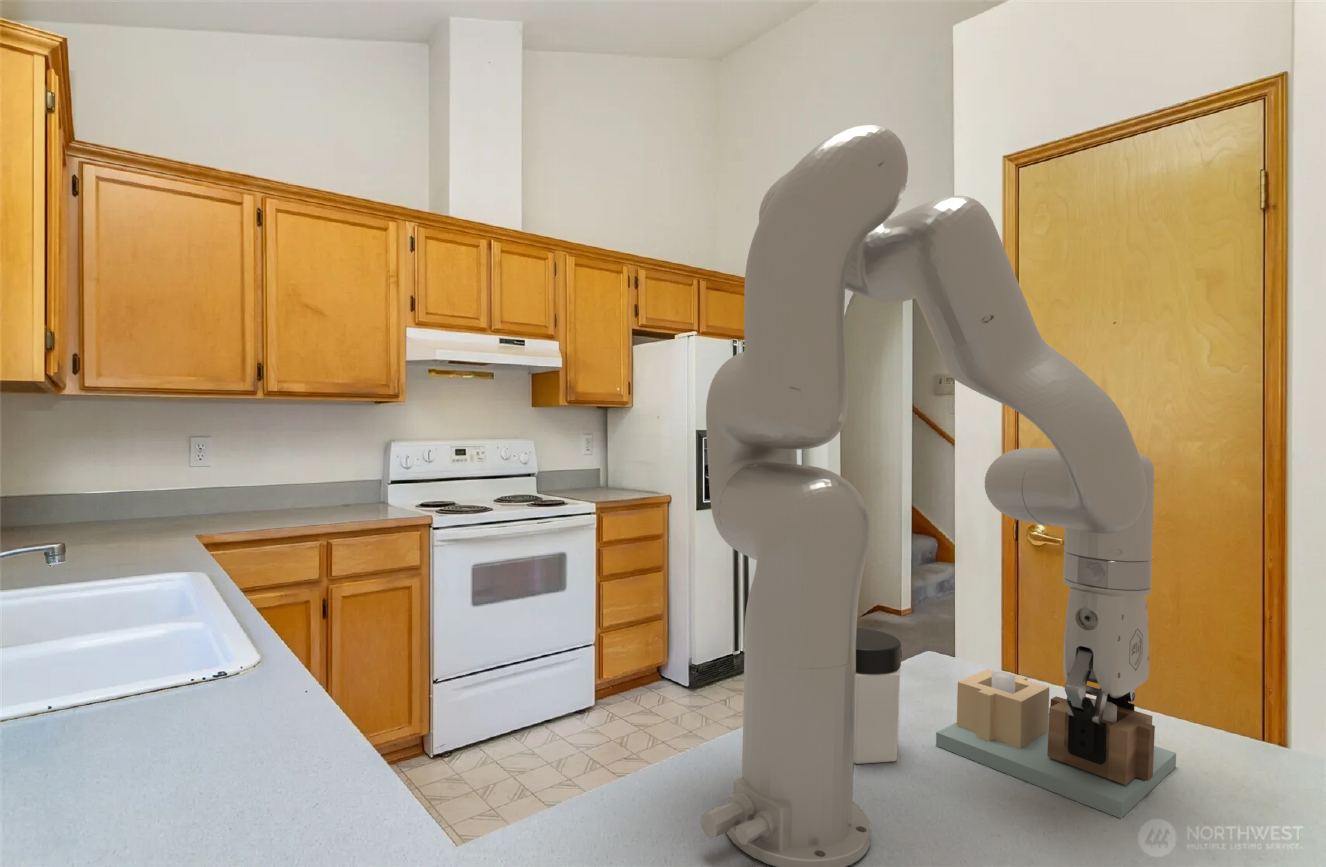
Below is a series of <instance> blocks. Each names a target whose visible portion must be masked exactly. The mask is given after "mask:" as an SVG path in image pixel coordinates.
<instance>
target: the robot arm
mask: <svg viewBox="0 0 1326 867" xmlns="http://www.w3.org/2000/svg"><path fill="white" fill-rule="evenodd" d="M908 174H909V163H908V156H907V152H906V147H905V145H904V144H903V143H902V141H901V139H900V138H899V136H898V135H897V134H896V133H895V132H893V131H892V130H891V129H889V128H887V127H884V126H882V125H878V124H877V125H876V124H863V125H862V124H861V125H854V126H852V127H848V128H845V129H844V130H840V131H839V132H836V133H835V134H833V135H831V136H830V137H828V138H827V139H825V140H823V141H822V142H821V143H819V144H818V145H816V146H815V147H814V148H813V149H811V150H810V151H809V152H808V153H806V155H805V156H803V157H802V158H801V160H800V161H799V162H798V163H797V164H796V165H795V166H793V168H792V169H790V170H789V171H788V172H786V173H785V174H783V175H782V176H781V177H780V178H778V180H776V181H775V182H774V183H773V184H772V185H771V186H770V188H769V189H768V190H767V191H766V193H765V194H764V196H763V198H762V201H761V203H760V206H759V211H758V224H757V226H756V228H755V232H754V234H753V237H752V240H751V244H750V246H749V250H748V254H747V255H748V256H747V258H746V265H745V273H744V310H743V311H744V312H743V314H744V316H743V317H744V318H743V321H744V322H743V324H744V326H743V328H744V331H743V332H744V334H743V336H744V348H743V351H742V352H739V353H737V354H735V355H733V356H732V357H730V358H729V359H728V360H726V361H725V362H724V363H723V364H722V365H721V366H720V367H719V368H718V370H717V371H716V373H715V375H714V377H713V378H712V380H711V382H710V386H709V390H708V393H707V397H706V403H705V404H706V405H705V406H706V407H705V428H706V447H707V448H706V450H707V451H706V452H707V469H708V486H709V490H708V491H709V500H710V508H711V514H712V518H713V522H714V525H715V528H716V530H717V531H718V534H719V535H720V536H721V538H722V540H723V541H724V542H725V543H726V544H727V545H729V547H730V548H732V549H733V550H735V551H737V552H738V553H740V554H742V555H744V556H746V557H748V558H750V559H753V560H755V561H756V565H755V570H754V576H753V580H752V583H751V586H750V590H749V594H748V597H747V603H746V609H745V618H744V619H745V620H744V633H743V634H744V638H743V641H744V642H743V648H744V657H743V658H744V660H743V661H744V662H743V664H744V666H743V703H742V706H743V712H742V751H741V752H742V755H741V756H742V758H741V759H742V760H741V763H742V764H741V777H739V778H737V779H735V780H734V781H733V792H732V793H731V794H730V795H729V796H728V798H727V799H726V800H725V803H724V805H720V806H717V807H715V808H712V809H710V810H709V811H707V812H704V813H702V815H701V816H700V825H701V829H702V832H704V835H705V836H706V837H707V838H708V839H710V840H711V839H712V840H713V839H715V838H717V837H719V836H722V835H725V833H726V835H727V836H728V838H729V839H730V840H731V841H732V843H733V844H735V845H736V847H737V848H739V849H740V850H741V851H742V852H743V853H744V854H747V855H749V856H750V857H752V858H754V859H756V860H757V861H760V862H762V863H765V864H767V865H771V866H773V867H848V866H852V865H854V863H856V862H857V861H859V860H861V859H862V858H863V857H864V856H865V854H866V853H867V852H868V850H869V849H870V846H871V841H872V840H871V839H872V826H871V822H870V819H869V818H868V815H867V813H866V812H865V811H864V810H863V809H862V808H861V806H860V805H859V804H857V803H856V802H855V801H854V800H853V798H854V767H855V766H854V764H855V763H854V725H855V683H856V629H857V628H858V626H857V625H858V611H859V610H858V609H859V601H860V600H859V599H860V593H861V592H860V590H861V585H862V579H863V574H864V570H865V567H866V566H865V565H866V561H867V559H868V558H867V557H868V552H869V547H870V542H871V521H870V519H871V518H870V516H869V515H870V514H869V510H868V507H867V506H866V503H865V501H864V498H863V497H862V496H861V494H860V492H859V491H858V489H856V488H855V486H854V485H853V484H852V483H851V482H849V481H848V479H845V478H844V477H842V476H841V475H839V474H837V473H836V472H833V471H831V470H828V469H826V468H822V467H818V466H812V465H807V464H805V465H804V464H798V450H800V451H801V450H809V449H815V448H818V447H821V446H824V445H825V444H828V443H829V442H831V441H832V440H833V439H834V438H836V437H837V436H838V435H839V433H840V432H841V431H842V429H843V427H844V424H845V423H846V420H847V416H848V409H849V408H848V406H849V384H848V383H849V382H848V363H847V361H848V360H847V341H846V340H847V339H846V322H845V320H846V318H845V308H846V307H845V304H846V302H845V300H846V290H847V291H849V292H851V293H854V294H855V295H859V296H862V297H864V298H867V299H870V300H872V301H875V302H880V303H885V304H899V303H904V302H907V301H911V300H914V299H915V300H916V303H917V306H918V307H919V309H920V311H921V313H922V315H923V318H924V320H925V322H926V324H927V327H928V329H929V331H930V334H931V336H932V337H933V340H934V343H935V345H936V347H937V349H938V352H939V354H940V355H939V356H940V357H941V359H942V362H943V364H944V367H945V369H946V371H947V373H948V374H949V376H950V377H951V378H952V379H954V380H955V381H956V382H958V383H959V384H961V385H963V386H965V387H967V388H968V389H971V390H972V391H974V392H976V393H979V394H980V395H983V396H984V397H987V398H989V399H992V400H994V401H995V402H998V403H1000V404H1002V405H1005V406H1007V407H1008V408H1011V409H1012V410H1014V411H1015V412H1017V413H1019V414H1020V415H1022V416H1023V417H1025V418H1026V419H1027V420H1029V422H1031V423H1032V424H1033V425H1035V427H1036V428H1038V429H1039V430H1040V431H1041V432H1042V433H1043V434H1044V435H1045V436H1046V438H1047V439H1048V440H1049V441H1050V442H1051V444H1052V445H1053V447H1054V448H1045V447H1044V448H1042V447H1041V448H1040V447H1023V448H1017V449H1013V450H1009V451H1007V452H1004V453H1002V454H1001V455H1000V456H998V457H997V458H996V459H995V460H993V462H992V463H991V464H990V465H989V467H988V468H987V471H986V473H985V477H984V490H985V494H986V496H987V499H988V501H989V502H990V503H991V505H992V506H993V507H994V508H995V509H996V510H998V511H999V512H1000V513H1002V514H1003V515H1005V516H1006V517H1009V518H1012V519H1015V520H1018V521H1021V522H1025V523H1032V524H1037V525H1038V524H1039V525H1043V526H1049V527H1050V526H1051V527H1052V526H1054V527H1060V528H1063V529H1064V539H1063V540H1064V542H1063V550H1064V551H1063V570H1062V571H1063V575H1062V577H1063V579H1062V583H1063V584H1064V585H1066V586H1067V587H1069V592H1068V597H1067V598H1068V600H1067V606H1066V616H1065V617H1066V618H1065V626H1064V627H1065V628H1064V639H1063V640H1064V641H1063V676H1064V677H1063V678H1064V680H1065V684H1064V691H1065V694H1066V699H1068V700H1067V702H1068V715H1069V722H1068V752H1069V753H1070V754H1071V755H1074V756H1077V757H1080V758H1082V759H1085V760H1088V761H1091V762H1094V763H1097V764H1100V765H1101V764H1103V763H1105V761H1106V732H1107V723H1105V722H1102V720H1103V715H1104V710H1105V705H1106V701H1107V702H1111V703H1113V704H1115V705H1116V706H1118V707H1122V708H1125V709H1129V710H1134V711H1135V707H1136V706H1135V704H1134V702H1135V700H1136V690H1135V689H1136V688H1138V687H1140V686H1141V685H1143V684H1144V683H1145V682H1146V681H1147V680H1148V678H1149V675H1150V644H1149V643H1150V642H1149V640H1150V638H1149V613H1148V604H1147V596H1148V595H1151V593H1152V589H1151V588H1152V573H1153V572H1152V571H1153V570H1152V567H1153V564H1152V563H1153V560H1152V559H1153V558H1152V557H1153V534H1154V532H1153V530H1154V529H1153V528H1154V497H1155V468H1154V464H1153V461H1152V460H1151V459H1150V458H1149V457H1148V456H1147V455H1145V454H1141V453H1139V450H1138V448H1137V446H1136V443H1135V440H1134V438H1133V436H1132V433H1131V430H1130V428H1129V426H1128V423H1127V421H1126V419H1125V417H1124V416H1123V413H1122V412H1121V410H1120V409H1119V407H1118V406H1117V404H1116V403H1115V402H1114V401H1113V399H1112V398H1111V397H1110V396H1109V395H1108V393H1107V392H1105V391H1104V390H1103V388H1101V387H1100V386H1099V385H1098V384H1097V383H1096V382H1095V381H1093V379H1091V378H1090V376H1088V375H1087V374H1086V373H1085V372H1083V371H1082V369H1080V368H1079V367H1078V366H1077V365H1076V364H1075V363H1073V362H1072V360H1071V361H1070V360H1069V359H1068V358H1067V357H1065V356H1064V355H1063V354H1062V353H1060V352H1058V351H1057V350H1056V349H1054V348H1053V347H1051V346H1050V345H1049V344H1048V343H1047V342H1046V341H1045V340H1044V338H1043V337H1042V336H1041V334H1040V332H1039V330H1038V327H1037V326H1036V322H1035V321H1034V317H1033V315H1032V313H1031V310H1030V307H1029V306H1028V303H1027V300H1026V298H1025V295H1024V293H1023V291H1022V288H1021V286H1020V282H1018V278H1017V276H1016V274H1015V271H1014V269H1013V266H1012V264H1011V262H1010V258H1009V257H1008V254H1007V252H1006V249H1005V247H1004V245H1003V243H1002V240H1001V237H1000V235H999V233H998V230H997V227H996V225H995V222H994V220H993V218H992V216H991V215H990V213H989V211H988V210H987V209H986V207H985V206H984V205H983V204H982V203H981V202H980V201H978V200H976V199H975V198H972V197H968V196H965V195H951V196H949V195H948V196H944V197H940V198H936V199H934V200H930V201H927V202H925V203H922V204H919V205H917V206H915V207H912V208H910V209H909V210H906V211H904V212H901V213H900V214H897V215H896V216H893V217H891V215H892V214H893V213H894V211H895V210H896V209H897V207H898V205H899V204H900V202H901V200H902V198H903V196H904V192H905V191H906V187H907V183H908V176H909V175H908ZM890 217H891V218H890ZM1088 682H1090V683H1093V684H1094V683H1095V684H1097V685H1098V686H1099V688H1098V687H1093V686H1090V685H1087V683H1088ZM1086 695H1091V696H1094V697H1095V699H1096V701H1095V706H1093V704H1092V701H1091V699H1090V698H1091V697H1089V698H1087V697H1088V696H1086Z"/></svg>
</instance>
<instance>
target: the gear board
mask: <svg viewBox="0 0 1326 867" xmlns="http://www.w3.org/2000/svg"><path fill="white" fill-rule="evenodd" d="M956 697H957V698H956V722H953V723H951V724H950V725H949V726H946V727H944V728H942V729H940V730H938V731H936V732H935V733H936V734H935V735H936V736H935V738H936V739H935V741H936V742H935V746H936V747H938V748H941V749H943V750H946V751H949V752H951V753H954V754H956V755H959V756H961V757H963V758H966V759H969V760H972V761H974V762H976V763H979V764H982V765H984V766H987V767H989V768H992V769H994V770H997V771H999V772H1001V773H1004V774H1006V775H1009V776H1012V777H1014V778H1017V779H1020V780H1023V781H1024V782H1026V783H1029V784H1032V785H1034V786H1037V787H1040V788H1041V789H1045V790H1047V791H1049V792H1052V793H1055V794H1057V795H1060V796H1062V797H1065V798H1068V799H1070V800H1073V801H1075V802H1078V803H1081V804H1082V805H1086V806H1088V807H1091V808H1092V809H1095V810H1099V811H1100V812H1103V813H1106V814H1108V815H1111V816H1113V817H1115V818H1118V819H1121V820H1122V819H1123V818H1124V817H1125V816H1126V815H1127V814H1128V813H1129V812H1130V811H1131V810H1133V808H1134V807H1135V806H1136V805H1137V804H1139V802H1141V801H1142V800H1143V799H1144V798H1145V797H1146V796H1147V795H1149V793H1150V792H1151V791H1152V790H1153V789H1154V788H1155V787H1156V786H1157V785H1158V784H1159V783H1161V782H1162V781H1163V780H1164V779H1165V778H1166V777H1167V776H1168V775H1169V774H1170V773H1171V772H1172V771H1173V770H1174V769H1175V768H1176V766H1177V765H1176V764H1177V752H1174V751H1171V750H1169V749H1166V748H1161V747H1158V746H1155V745H1154V759H1153V777H1152V778H1151V779H1150V780H1149V781H1146V780H1143V779H1140V778H1138V777H1135V778H1134V779H1133V780H1131V781H1130V782H1129V783H1127V784H1126V785H1124V784H1121V783H1119V782H1116V781H1113V780H1110V779H1108V778H1105V777H1102V776H1100V775H1097V774H1094V773H1091V772H1089V771H1086V770H1083V769H1080V768H1078V767H1075V766H1072V765H1069V764H1067V763H1064V762H1061V761H1059V760H1056V759H1053V758H1050V757H1048V756H1047V753H1048V729H1049V708H1050V686H1047V685H1043V684H1040V683H1037V682H1033V681H1030V680H1028V677H1026V676H1022V675H1019V674H1011V673H1008V672H1004V671H1003V672H1002V671H995V670H991V669H985V670H983V671H980V672H977V673H975V674H973V675H971V676H968V677H966V678H964V679H961V680H959V681H957V696H956ZM1091 701H1092V704H1093V706H1095V701H1096V700H1091ZM1103 719H1104V720H1107V721H1110V722H1114V723H1117V706H1116V705H1115V704H1113V703H1111V702H1107V701H1106V705H1105V710H1104V715H1103Z"/></svg>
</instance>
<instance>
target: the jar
mask: <svg viewBox="0 0 1326 867" xmlns="http://www.w3.org/2000/svg"><path fill="white" fill-rule="evenodd" d="M902 653H903V652H902V642H901V640H900V639H898V638H897V637H896V636H894V635H892V634H890V633H887V632H883V631H878V630H874V629H869V628H862V627H861V628H858V627H857V629H856V683H855V725H854V764H856V765H861V764H877V763H878V764H879V763H891V762H896V761H897V760H898V751H899V735H900V734H899V732H900V731H899V730H900V729H899V727H900V725H899V724H900V720H899V719H900V694H901V693H900V690H901V688H900V686H901V685H900V684H901V667H902V658H903V656H902V655H903V654H902Z"/></svg>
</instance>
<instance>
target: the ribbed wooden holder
mask: <svg viewBox="0 0 1326 867" xmlns="http://www.w3.org/2000/svg"><path fill="white" fill-rule="evenodd" d="M1086 697H1087V698H1090V699H1091V700H1096V698H1091V697H1088V696H1086ZM1067 700H1068V699H1067V698H1063V697H1060V696H1057V695H1056V696H1053V697H1052V698H1050V703H1049V729H1048V753H1047V756H1048V757H1050V758H1053V759H1056V760H1059V761H1061V762H1064V763H1067V764H1069V765H1072V766H1075V767H1078V768H1080V769H1083V770H1086V771H1089V772H1091V773H1094V774H1097V775H1100V776H1102V777H1105V778H1108V779H1110V780H1113V781H1116V782H1119V783H1121V784H1124V785H1126V784H1127V783H1129V782H1130V781H1131V780H1133V779H1134V778H1135V777H1138V778H1140V779H1143V780H1146V781H1149V780H1150V779H1151V778H1152V777H1153V759H1154V746H1155V733H1156V732H1155V731H1156V725H1154V724H1153V715H1150V714H1147V713H1145V712H1143V713H1142V712H1140V711H1137V710H1135V709H1134V710H1129V709H1125V708H1122V707H1118V706H1117V723H1114V722H1110V721H1107V720H1104V719H1103V720H1102V722H1105V723H1107V732H1106V761H1105V763H1103V764H1101V765H1100V764H1097V763H1094V762H1091V761H1088V760H1085V759H1082V758H1080V757H1077V756H1074V755H1071V754H1070V753H1069V752H1068V722H1069V715H1068V702H1067Z"/></svg>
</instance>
